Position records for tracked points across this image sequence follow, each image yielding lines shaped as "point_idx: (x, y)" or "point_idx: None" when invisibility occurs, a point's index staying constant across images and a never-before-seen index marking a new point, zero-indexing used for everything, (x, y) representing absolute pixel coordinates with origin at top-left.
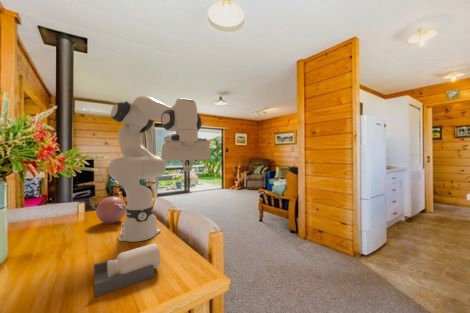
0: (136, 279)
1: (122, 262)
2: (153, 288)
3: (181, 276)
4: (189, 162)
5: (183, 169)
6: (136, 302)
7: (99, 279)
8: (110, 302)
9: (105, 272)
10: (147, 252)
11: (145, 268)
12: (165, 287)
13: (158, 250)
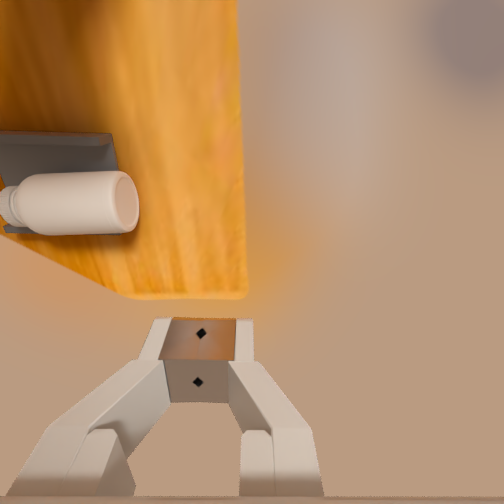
0: None
1: (39, 233)
2: (127, 257)
3: (182, 253)
4: (246, 436)
5: (150, 333)
6: (100, 274)
7: (9, 171)
8: (58, 252)
9: (12, 145)
10: (93, 231)
11: (102, 234)
12: (148, 266)
13: (122, 230)
